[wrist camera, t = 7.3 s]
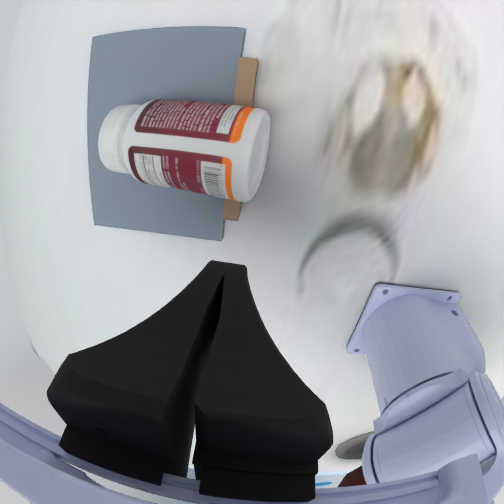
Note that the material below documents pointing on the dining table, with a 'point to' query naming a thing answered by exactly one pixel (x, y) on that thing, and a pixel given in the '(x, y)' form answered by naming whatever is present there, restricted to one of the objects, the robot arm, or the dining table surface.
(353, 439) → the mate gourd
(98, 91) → the slate mat
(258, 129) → the pill bottle
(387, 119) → the dining table surface
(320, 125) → the dining table surface
